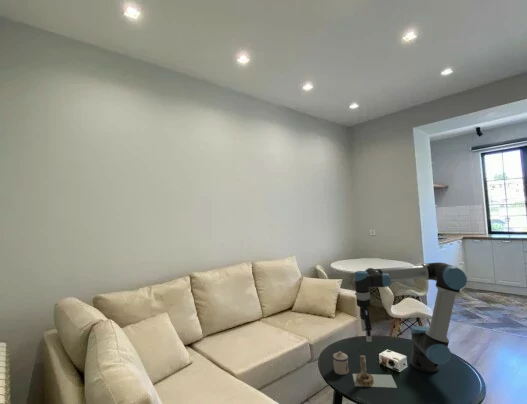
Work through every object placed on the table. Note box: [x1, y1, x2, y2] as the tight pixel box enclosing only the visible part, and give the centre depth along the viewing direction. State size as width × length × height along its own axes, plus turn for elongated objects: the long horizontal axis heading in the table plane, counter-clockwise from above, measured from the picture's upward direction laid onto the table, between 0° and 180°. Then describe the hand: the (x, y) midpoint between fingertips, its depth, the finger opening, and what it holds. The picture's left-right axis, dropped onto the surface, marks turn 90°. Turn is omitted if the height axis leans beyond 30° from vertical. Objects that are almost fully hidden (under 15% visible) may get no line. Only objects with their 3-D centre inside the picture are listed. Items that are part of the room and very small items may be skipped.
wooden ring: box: [356, 372, 374, 388], centre depth 163 cm, size 9×9×2 cm
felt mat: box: [352, 373, 398, 389], centre depth 164 cm, size 22×12×1 cm, turn 80°
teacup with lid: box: [332, 350, 350, 376], centre depth 177 cm, size 12×9×12 cm
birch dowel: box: [359, 354, 368, 380], centre depth 163 cm, size 3×3×14 cm
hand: (366, 335), depth 165 cm, fingers open, 13 cm apart
